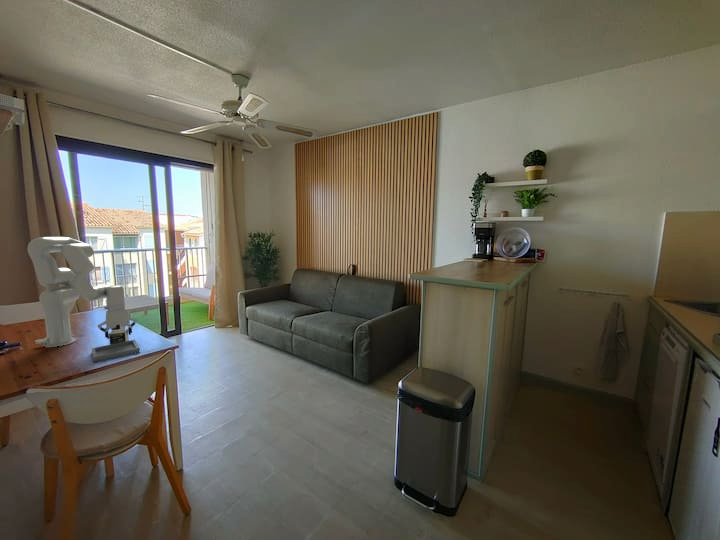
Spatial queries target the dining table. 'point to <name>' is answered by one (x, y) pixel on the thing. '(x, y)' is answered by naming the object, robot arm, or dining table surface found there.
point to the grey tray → (114, 350)
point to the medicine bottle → (118, 335)
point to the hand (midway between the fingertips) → (119, 336)
